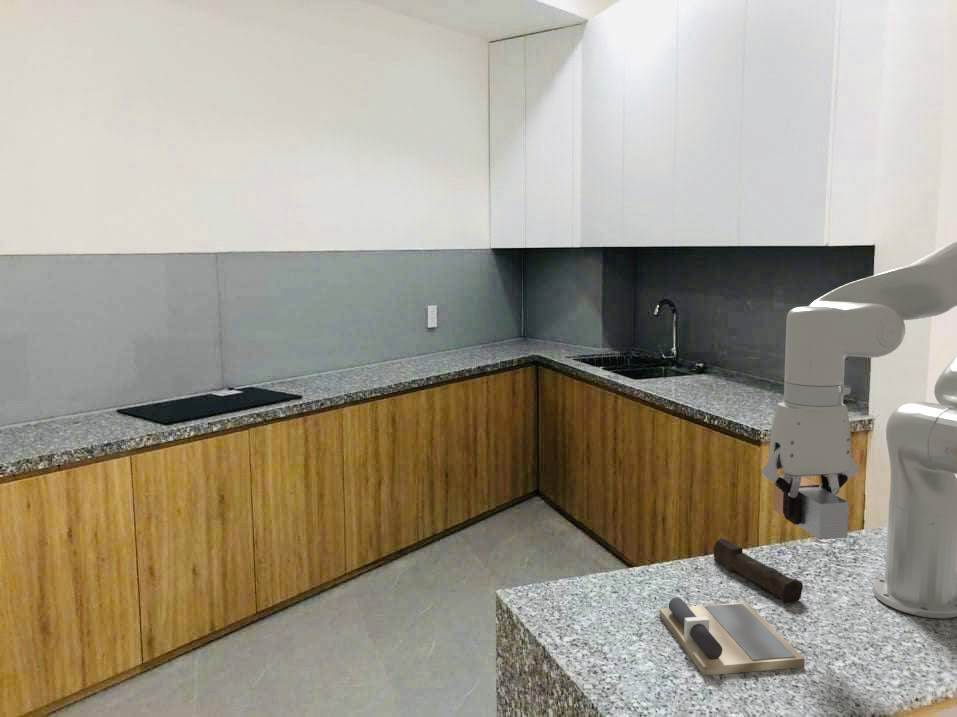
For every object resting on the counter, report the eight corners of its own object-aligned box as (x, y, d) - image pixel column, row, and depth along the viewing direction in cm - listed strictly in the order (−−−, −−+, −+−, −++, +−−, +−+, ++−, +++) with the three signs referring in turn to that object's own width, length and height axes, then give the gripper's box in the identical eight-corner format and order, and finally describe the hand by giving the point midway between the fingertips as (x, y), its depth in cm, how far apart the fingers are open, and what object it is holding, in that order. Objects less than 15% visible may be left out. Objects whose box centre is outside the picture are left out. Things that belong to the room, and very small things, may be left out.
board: (746, 609, 111) (746, 601, 110) (804, 667, 95) (804, 657, 95) (659, 616, 109) (659, 608, 109) (703, 675, 93) (703, 666, 93)
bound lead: (686, 614, 108) (686, 593, 107) (724, 662, 95) (725, 638, 95) (665, 616, 108) (666, 595, 107) (701, 663, 95) (702, 640, 94)
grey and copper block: (798, 507, 108) (800, 474, 108) (847, 537, 96) (849, 500, 96) (772, 509, 108) (773, 476, 107) (818, 539, 96) (820, 502, 95)
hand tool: (804, 603, 113) (805, 575, 112) (783, 607, 112) (784, 579, 111) (726, 557, 131) (727, 533, 130) (708, 560, 129) (709, 536, 129)
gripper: (852, 387, 104) (846, 507, 107) (743, 392, 102) (739, 514, 105) (887, 397, 97) (880, 526, 99) (769, 402, 95) (765, 534, 97)
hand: (808, 518), depth 102 cm, fingers closed on grey and copper block, 4 cm apart
